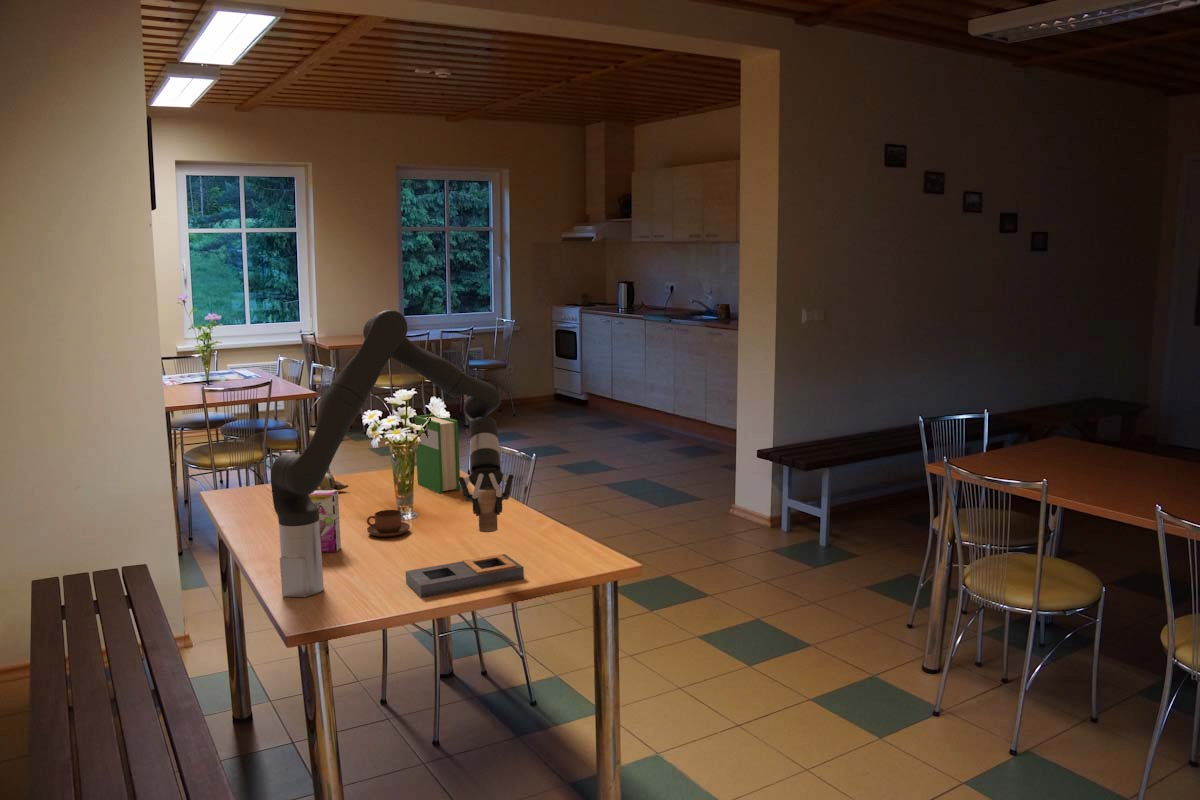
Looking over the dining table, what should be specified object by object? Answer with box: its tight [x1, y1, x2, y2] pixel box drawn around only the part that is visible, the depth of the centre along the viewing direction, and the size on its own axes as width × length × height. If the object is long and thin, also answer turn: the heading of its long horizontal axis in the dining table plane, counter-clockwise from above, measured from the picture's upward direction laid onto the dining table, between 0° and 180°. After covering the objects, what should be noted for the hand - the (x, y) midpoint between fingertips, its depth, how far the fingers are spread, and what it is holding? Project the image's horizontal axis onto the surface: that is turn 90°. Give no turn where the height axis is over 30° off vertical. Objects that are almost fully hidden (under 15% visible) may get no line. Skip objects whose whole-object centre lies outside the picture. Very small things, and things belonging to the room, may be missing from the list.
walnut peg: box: [478, 488, 498, 533], centre depth 237 cm, size 4×4×10 cm
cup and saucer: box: [366, 509, 411, 538], centre depth 278 cm, size 12×12×6 cm
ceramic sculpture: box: [315, 472, 350, 491], centre depth 326 cm, size 11×9×15 cm
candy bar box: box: [309, 489, 342, 554], centre depth 262 cm, size 11×5×16 cm, turn 92°
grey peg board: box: [405, 553, 525, 599], centre depth 236 cm, size 26×12×3 cm, turn 118°
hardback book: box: [414, 413, 461, 495], centre depth 330 cm, size 18×7×24 cm, turn 36°
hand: (487, 513), depth 235 cm, fingers closed on walnut peg, 4 cm apart
